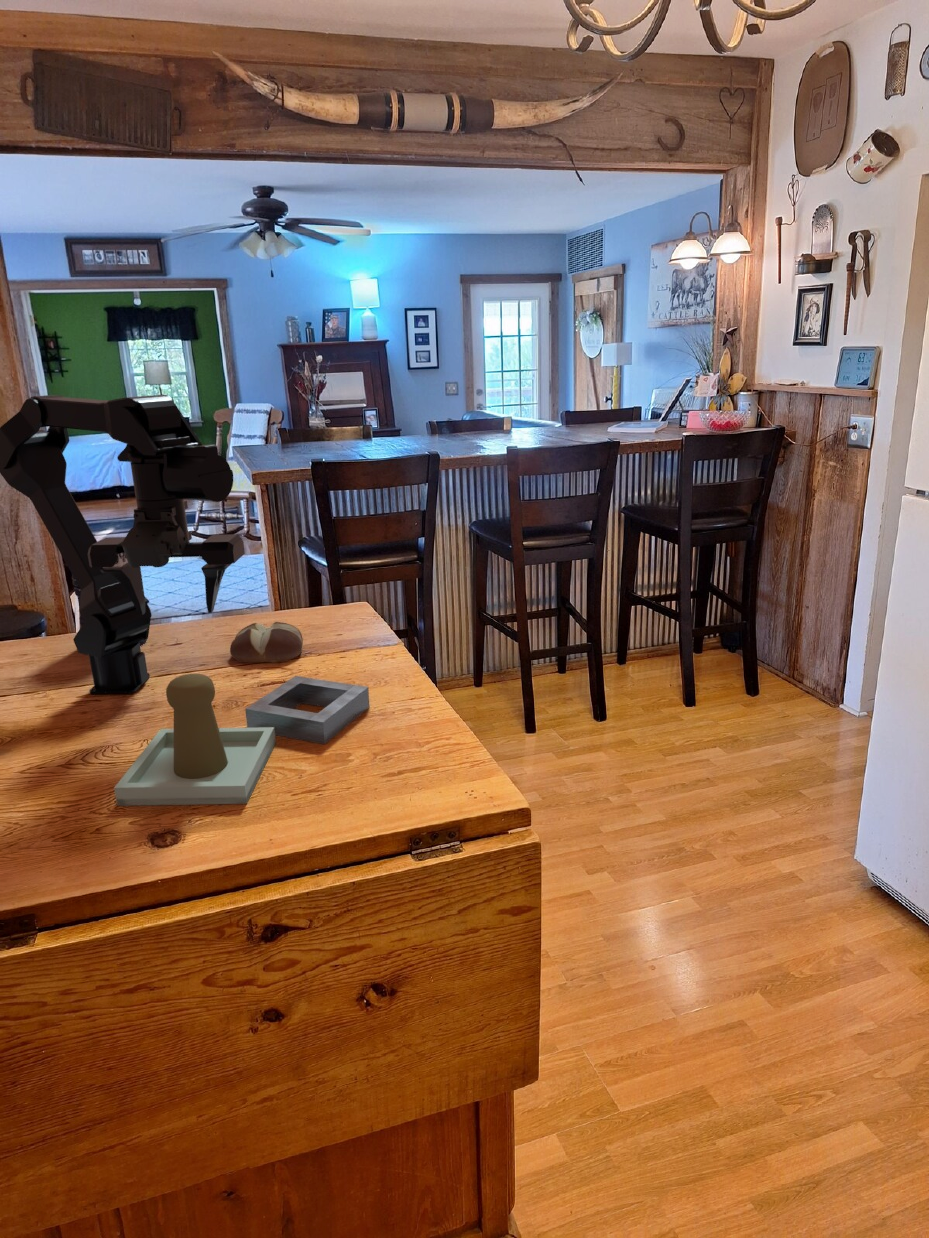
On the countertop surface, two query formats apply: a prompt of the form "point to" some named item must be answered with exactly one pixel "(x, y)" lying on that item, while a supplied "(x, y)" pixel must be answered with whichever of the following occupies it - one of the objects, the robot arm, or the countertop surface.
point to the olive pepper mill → (195, 727)
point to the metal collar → (308, 726)
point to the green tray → (232, 785)
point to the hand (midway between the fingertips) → (176, 613)
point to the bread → (267, 643)
